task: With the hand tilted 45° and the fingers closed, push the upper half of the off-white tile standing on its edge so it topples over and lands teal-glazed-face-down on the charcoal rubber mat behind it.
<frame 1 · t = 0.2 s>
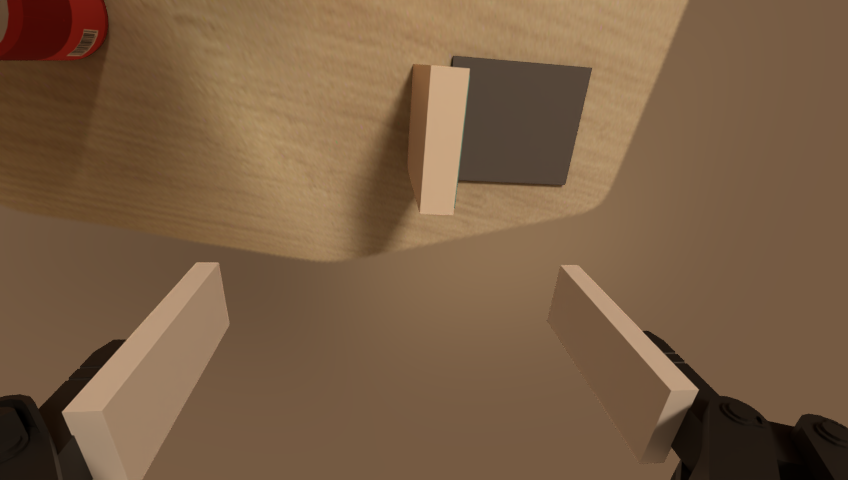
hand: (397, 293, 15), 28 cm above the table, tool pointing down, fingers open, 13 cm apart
canned food: (62, 8, 33), on the table
glazed tile: (422, 119, 39), on the table
rubber mat: (512, 125, 41), on the table
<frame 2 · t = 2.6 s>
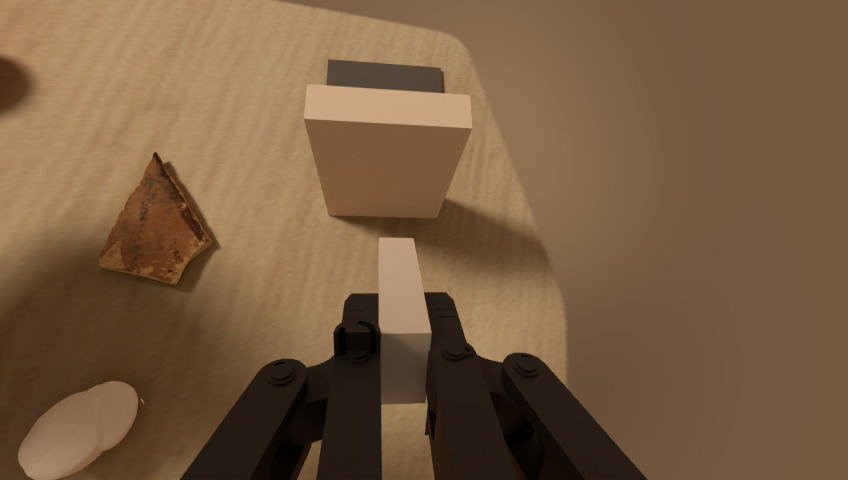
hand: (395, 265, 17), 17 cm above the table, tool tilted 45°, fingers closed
glazed tile: (383, 204, 37), on the table
dumpling: (105, 422, 28), on the table
rubber mat: (384, 120, 40), on the table
shard: (151, 232, 34), on the table
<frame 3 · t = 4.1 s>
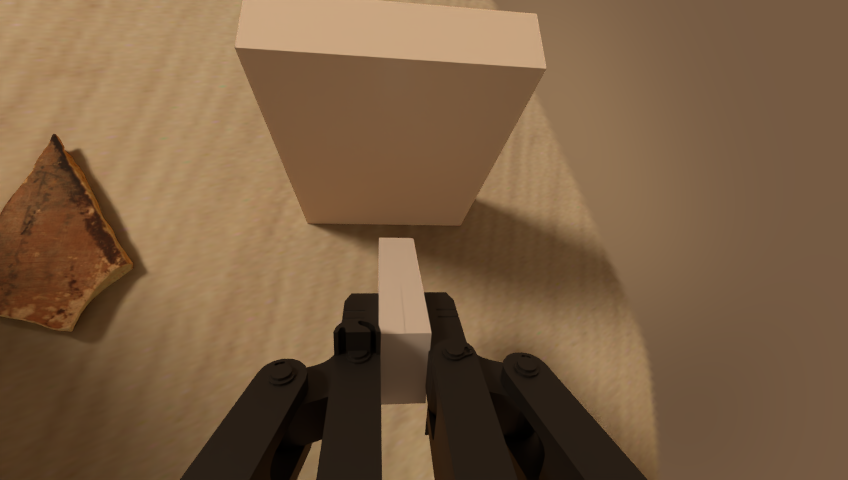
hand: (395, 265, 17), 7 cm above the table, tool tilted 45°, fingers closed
glazed tile: (385, 207, 26), on the table
shard: (46, 251, 23), on the table
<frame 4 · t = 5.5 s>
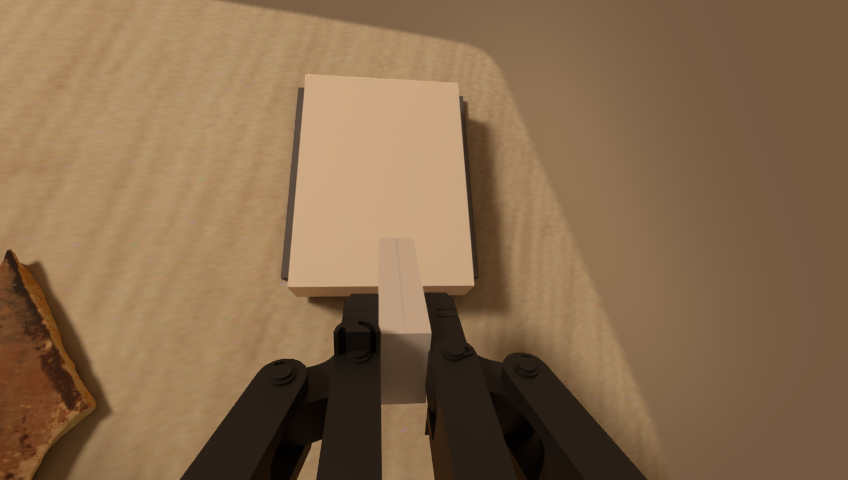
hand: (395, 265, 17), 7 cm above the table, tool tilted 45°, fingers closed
glazed tile: (383, 291, 22), point 2 cm above the table, tilted 90°, touching rubber mat
rubber mat: (382, 179, 27), on the table
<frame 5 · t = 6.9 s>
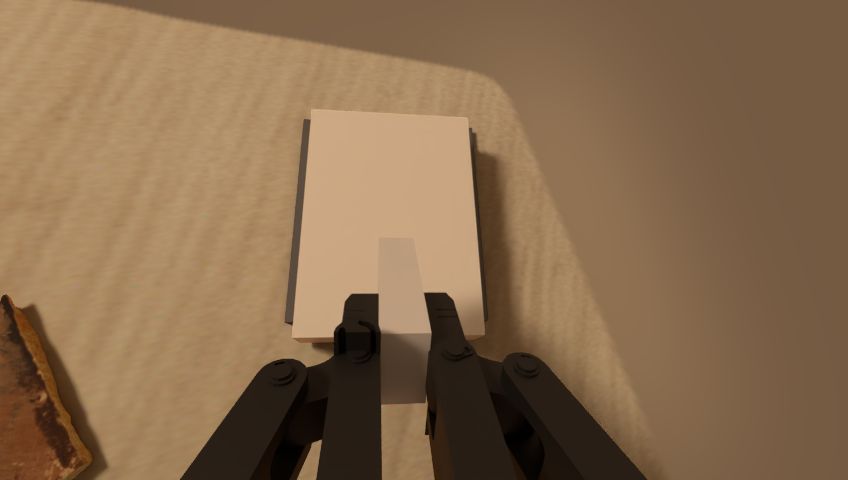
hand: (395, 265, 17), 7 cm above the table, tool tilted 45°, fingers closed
glazed tile: (390, 338, 21), point 2 cm above the table, tilted 90°, touching rubber mat
rubber mat: (389, 215, 26), on the table
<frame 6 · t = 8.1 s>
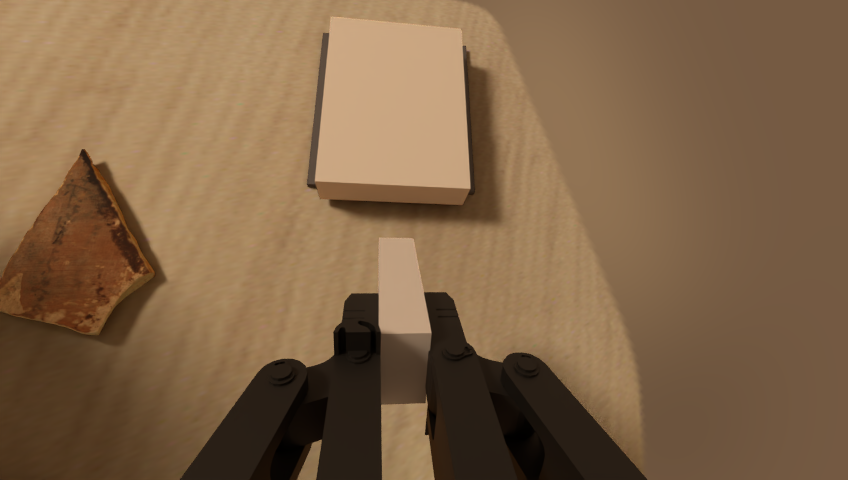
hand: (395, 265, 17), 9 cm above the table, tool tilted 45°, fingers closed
glazed tile: (393, 193, 26), point 2 cm above the table, tilted 90°, touching rubber mat
rubber mat: (394, 111, 31), on the table
shard: (74, 259, 25), on the table
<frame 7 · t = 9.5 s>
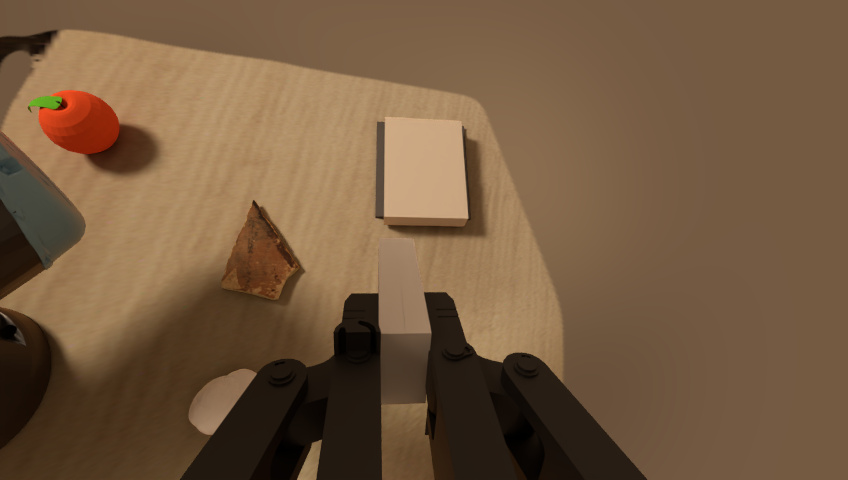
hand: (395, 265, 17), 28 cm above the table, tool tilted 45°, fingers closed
glazed tile: (425, 221, 47), point 2 cm above the table, tilted 90°, touching rubber mat
dumpling: (235, 398, 40), on the table
clementine: (97, 141, 48), on the table
rubber mat: (422, 170, 51), on the table
shard: (252, 260, 45), on the table
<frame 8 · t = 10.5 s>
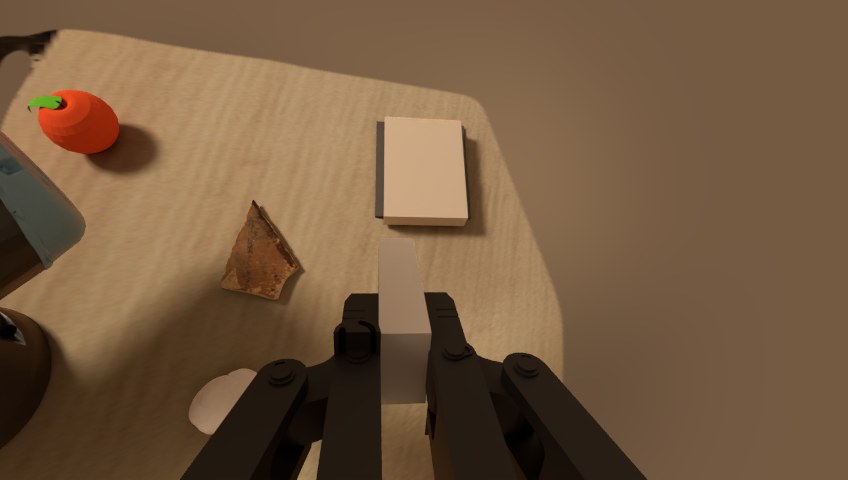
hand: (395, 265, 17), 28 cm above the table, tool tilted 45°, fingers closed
glazed tile: (425, 221, 47), point 2 cm above the table, tilted 90°, touching rubber mat
dumpling: (235, 398, 40), on the table
clementine: (97, 140, 48), on the table
rubber mat: (421, 169, 51), on the table
shard: (252, 260, 45), on the table
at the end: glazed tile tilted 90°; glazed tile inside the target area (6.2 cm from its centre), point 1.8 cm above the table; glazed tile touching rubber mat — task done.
